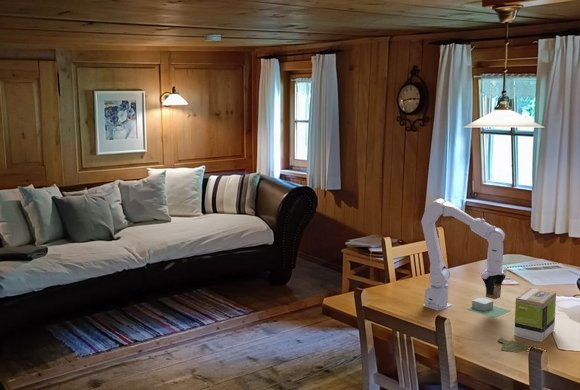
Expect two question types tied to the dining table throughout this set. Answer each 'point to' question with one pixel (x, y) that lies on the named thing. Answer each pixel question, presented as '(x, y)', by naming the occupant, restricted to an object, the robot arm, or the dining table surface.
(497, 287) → the walnut cube
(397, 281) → the dining table surface
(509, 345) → the green leaf
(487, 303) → the base block
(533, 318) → the tea box
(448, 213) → the robot arm
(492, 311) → the felt mat
